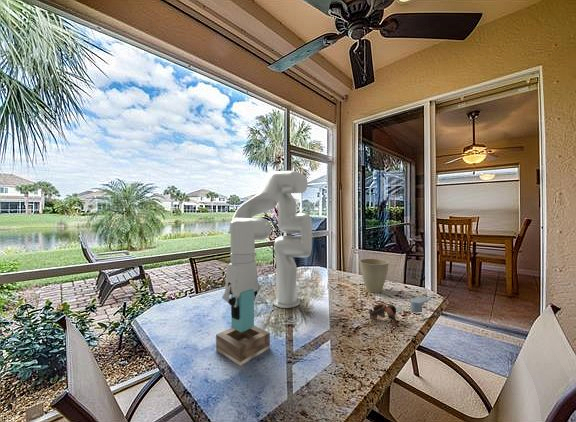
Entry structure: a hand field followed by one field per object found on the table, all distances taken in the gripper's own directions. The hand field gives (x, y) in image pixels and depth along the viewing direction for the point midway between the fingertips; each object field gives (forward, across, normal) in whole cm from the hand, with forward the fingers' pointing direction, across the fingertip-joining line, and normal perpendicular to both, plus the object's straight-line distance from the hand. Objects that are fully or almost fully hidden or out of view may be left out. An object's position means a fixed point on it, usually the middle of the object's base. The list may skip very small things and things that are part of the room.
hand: (242, 314), depth 81 cm
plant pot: (+11, -82, +9) cm, 83 cm away
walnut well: (+11, 0, 0) cm, 11 cm away
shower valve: (+11, -68, +34) cm, 77 cm away
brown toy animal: (+11, -49, +27) cm, 57 cm away
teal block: (+4, 0, 0) cm, 4 cm away
